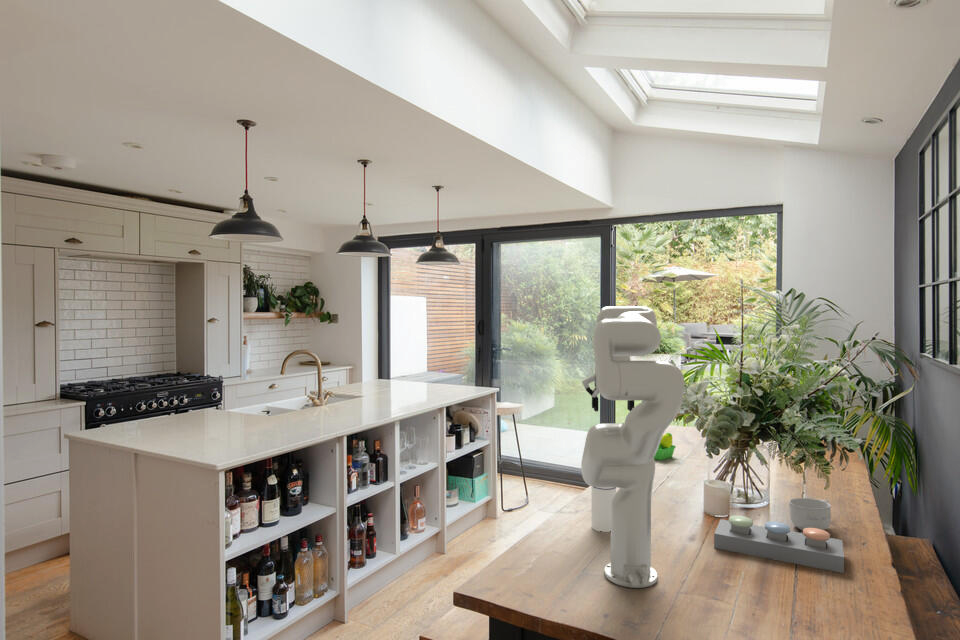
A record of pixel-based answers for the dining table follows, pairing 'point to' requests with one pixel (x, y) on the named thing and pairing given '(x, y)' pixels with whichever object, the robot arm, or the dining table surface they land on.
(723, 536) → the button panel
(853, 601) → the dining table surface
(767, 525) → the button slate
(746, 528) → the button sage
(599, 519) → the cylindrical container
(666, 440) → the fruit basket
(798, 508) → the teacup
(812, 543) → the button terracotta
